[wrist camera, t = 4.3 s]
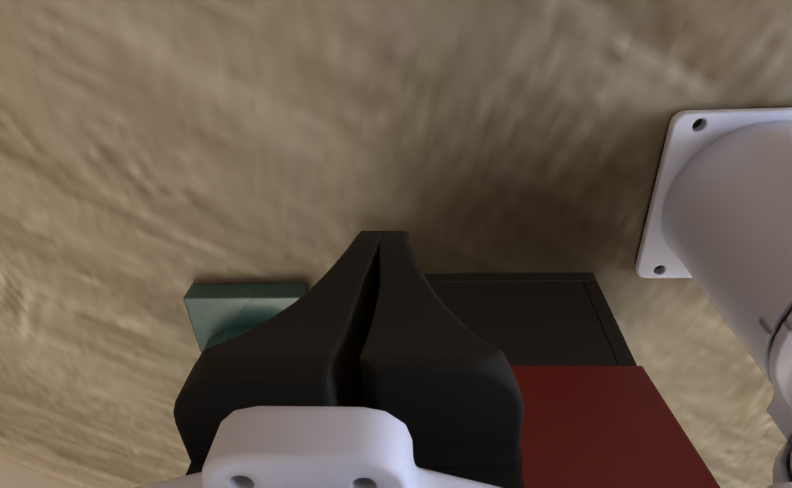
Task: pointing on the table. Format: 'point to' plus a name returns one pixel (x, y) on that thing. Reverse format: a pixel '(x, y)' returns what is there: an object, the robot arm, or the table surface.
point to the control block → (235, 308)
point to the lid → (602, 431)
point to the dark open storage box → (537, 317)
